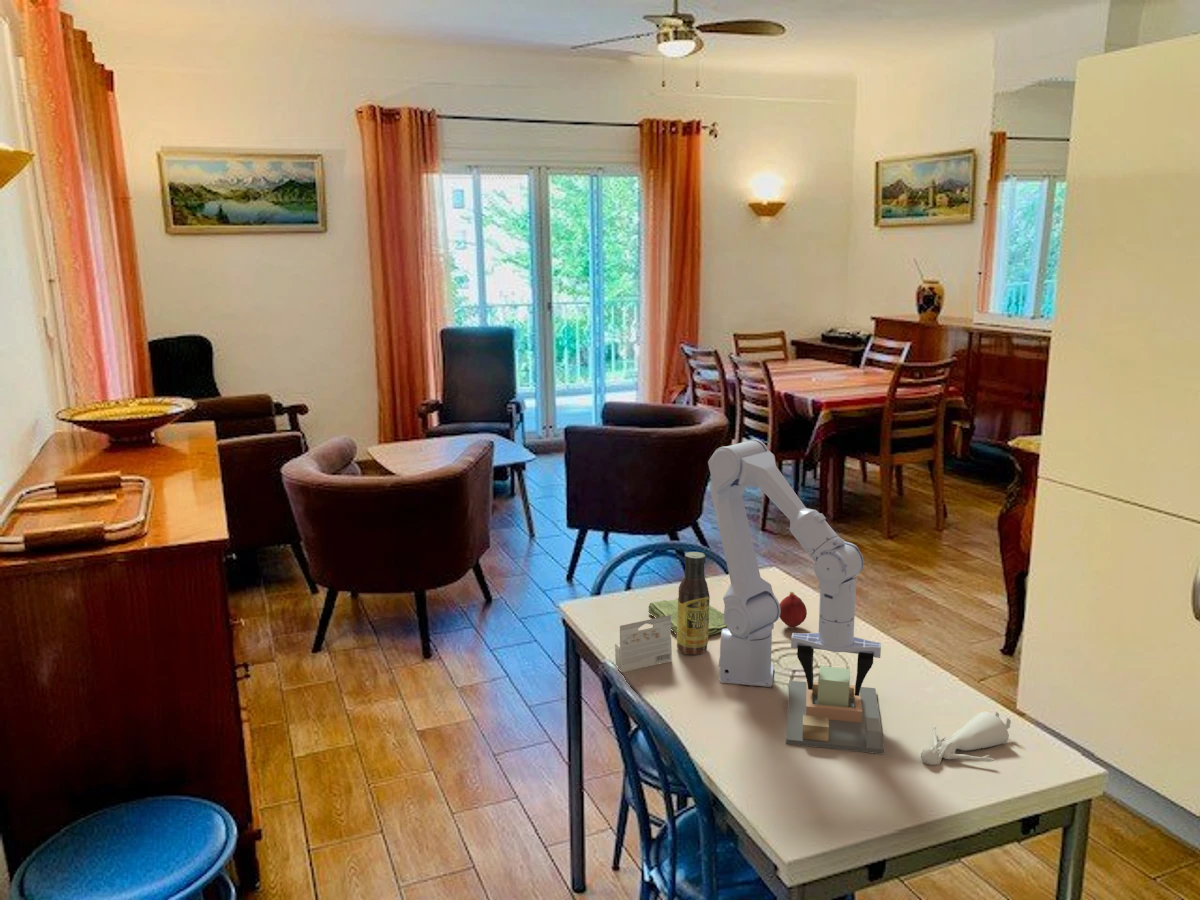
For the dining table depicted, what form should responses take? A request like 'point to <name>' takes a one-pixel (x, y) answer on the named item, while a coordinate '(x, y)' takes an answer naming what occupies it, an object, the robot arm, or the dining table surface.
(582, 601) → the dining table surface
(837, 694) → the sage green cube
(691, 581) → the sauce bottle
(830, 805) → the dining table surface
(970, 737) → the woman figurine
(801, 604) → the onion
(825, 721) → the tan eraser block
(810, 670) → the robot arm
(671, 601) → the washcloth
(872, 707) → the housing
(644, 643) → the ink cartridge box
